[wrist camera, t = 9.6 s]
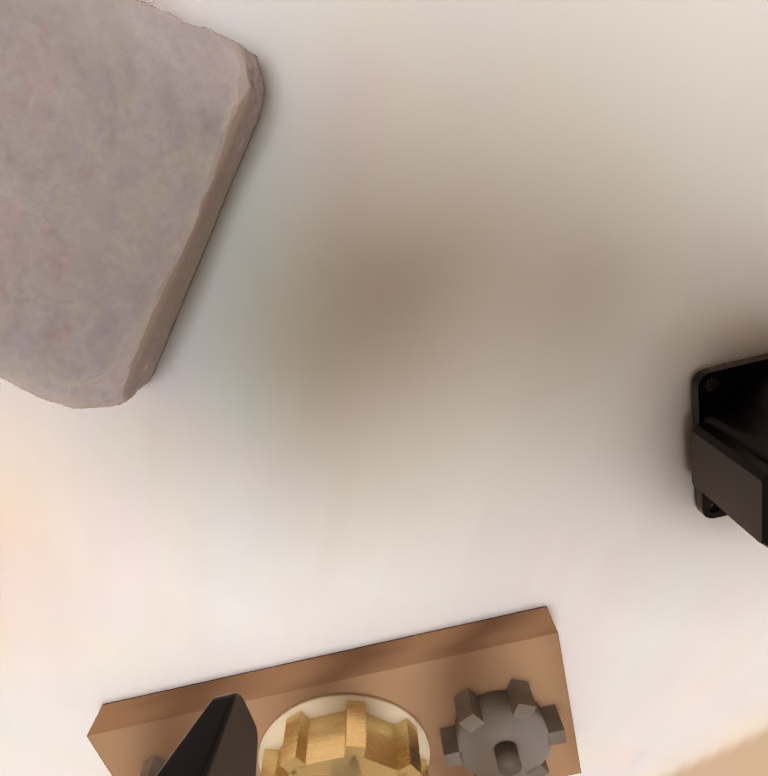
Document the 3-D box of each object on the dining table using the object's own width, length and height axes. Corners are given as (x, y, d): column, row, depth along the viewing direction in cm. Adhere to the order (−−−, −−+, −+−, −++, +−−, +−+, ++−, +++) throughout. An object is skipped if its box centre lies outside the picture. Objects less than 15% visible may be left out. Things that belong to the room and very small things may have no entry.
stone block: (-69, 278, 20) (169, 406, 20) (-230, 283, 15) (80, 450, 15) (21, -65, 16) (302, 86, 16) (-147, -194, 12) (244, 17, 12)
